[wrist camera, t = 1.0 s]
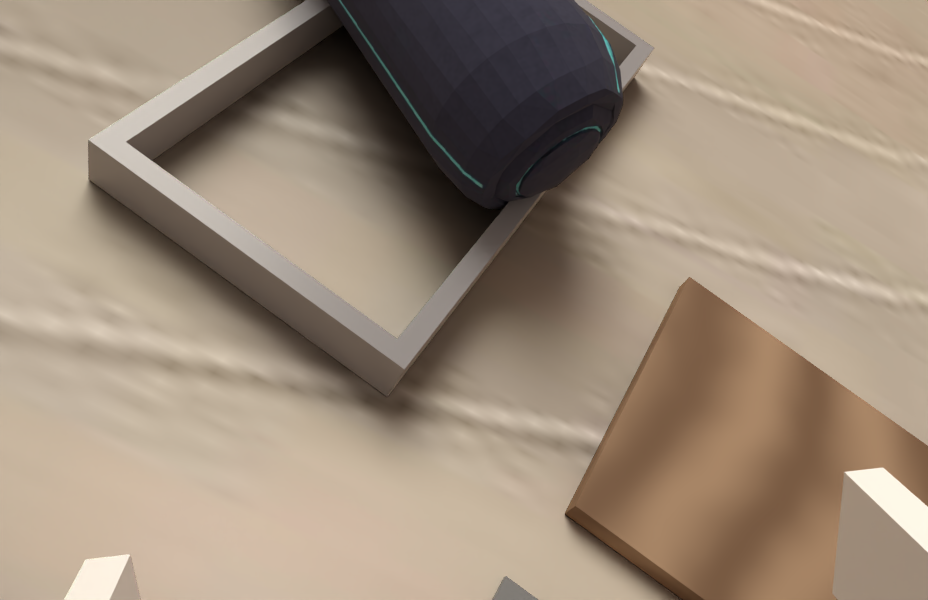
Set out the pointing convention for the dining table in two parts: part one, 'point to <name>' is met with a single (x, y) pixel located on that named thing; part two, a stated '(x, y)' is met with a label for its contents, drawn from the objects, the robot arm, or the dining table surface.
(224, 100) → the speaker dock frame
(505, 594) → the mat
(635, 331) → the dining table surface
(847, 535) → the robot arm
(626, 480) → the walnut board
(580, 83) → the portable speaker
